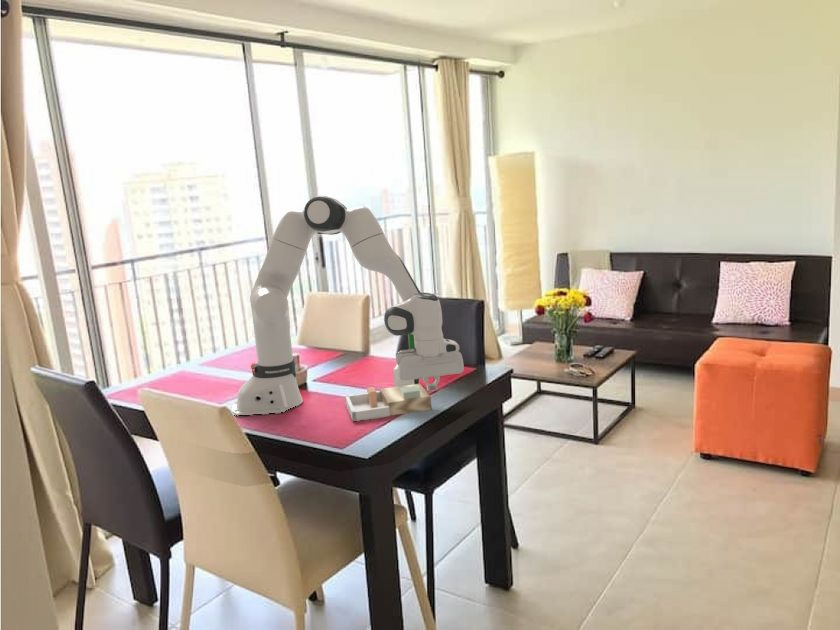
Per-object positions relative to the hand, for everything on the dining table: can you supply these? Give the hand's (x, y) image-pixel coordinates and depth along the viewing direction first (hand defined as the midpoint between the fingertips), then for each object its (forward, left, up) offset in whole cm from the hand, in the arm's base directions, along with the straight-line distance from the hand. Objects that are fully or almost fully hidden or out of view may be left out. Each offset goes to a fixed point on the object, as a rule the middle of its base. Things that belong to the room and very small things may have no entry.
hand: (432, 390), depth 203 cm
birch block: (-8, +3, -5) cm, 10 cm away
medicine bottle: (-3, +21, -5) cm, 22 cm away
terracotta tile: (-16, +7, -2) cm, 18 cm away
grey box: (-20, +3, -5) cm, 21 cm away
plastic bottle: (+7, +43, -5) cm, 44 cm away
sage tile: (-7, 0, -1) cm, 7 cm away
